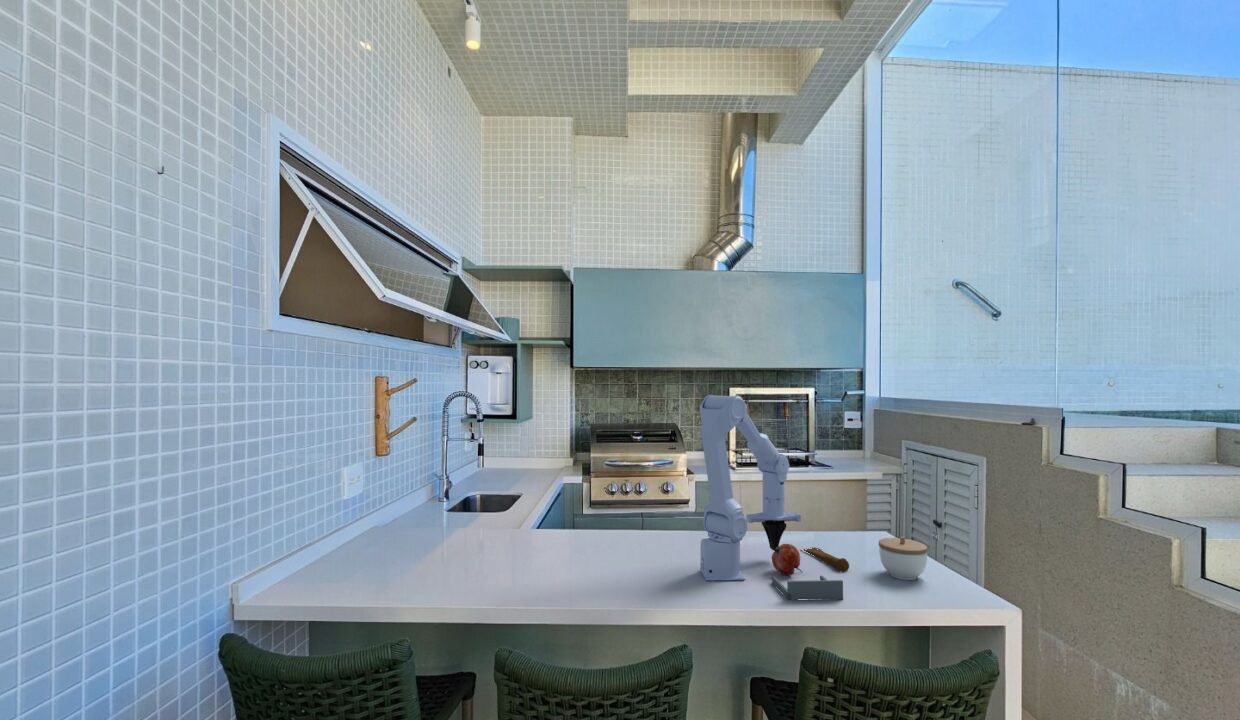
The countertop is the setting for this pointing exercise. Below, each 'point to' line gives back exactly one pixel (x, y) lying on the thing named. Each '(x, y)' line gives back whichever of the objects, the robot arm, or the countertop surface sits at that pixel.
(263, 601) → the countertop surface
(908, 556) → the lidded jar
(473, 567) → the countertop surface
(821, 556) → the primitive tool
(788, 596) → the box
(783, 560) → the pomegranate
